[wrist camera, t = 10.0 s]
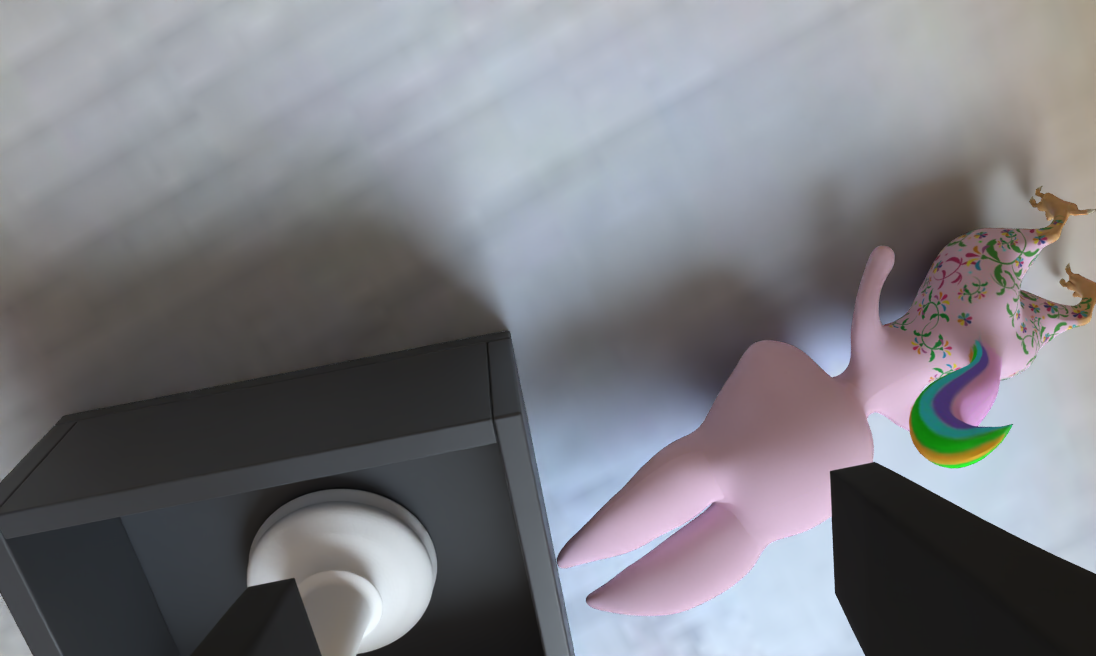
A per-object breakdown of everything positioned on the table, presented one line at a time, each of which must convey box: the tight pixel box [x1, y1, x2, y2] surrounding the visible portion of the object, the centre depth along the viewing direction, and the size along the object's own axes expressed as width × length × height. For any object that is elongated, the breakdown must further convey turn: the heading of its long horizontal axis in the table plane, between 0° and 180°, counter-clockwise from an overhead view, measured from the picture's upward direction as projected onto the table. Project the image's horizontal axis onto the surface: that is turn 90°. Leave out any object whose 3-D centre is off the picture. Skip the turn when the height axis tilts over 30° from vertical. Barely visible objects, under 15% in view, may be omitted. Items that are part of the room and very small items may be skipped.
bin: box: [0, 331, 575, 656], centre depth 21 cm, size 11×11×4 cm
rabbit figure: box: [557, 186, 1096, 616], centre depth 20 cm, size 6×6×15 cm
